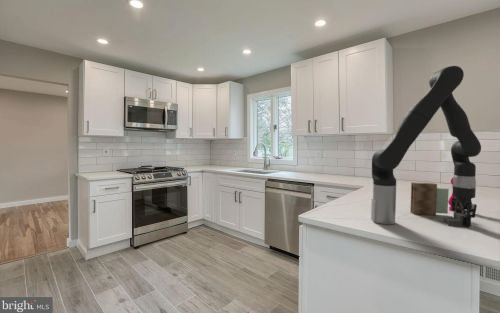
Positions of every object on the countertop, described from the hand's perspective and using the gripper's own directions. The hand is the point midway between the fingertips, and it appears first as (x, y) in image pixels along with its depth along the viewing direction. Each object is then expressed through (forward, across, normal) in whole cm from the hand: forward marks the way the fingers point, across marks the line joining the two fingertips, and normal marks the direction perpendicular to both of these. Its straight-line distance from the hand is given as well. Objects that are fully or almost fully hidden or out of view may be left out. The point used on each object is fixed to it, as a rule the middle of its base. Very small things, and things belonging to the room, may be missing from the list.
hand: (462, 223), depth 106 cm
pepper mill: (+1, -26, +10) cm, 28 cm away
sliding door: (0, -15, -5) cm, 16 cm away
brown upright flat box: (0, -15, -10) cm, 18 cm away
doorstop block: (+1, 0, -2) cm, 2 cm away
